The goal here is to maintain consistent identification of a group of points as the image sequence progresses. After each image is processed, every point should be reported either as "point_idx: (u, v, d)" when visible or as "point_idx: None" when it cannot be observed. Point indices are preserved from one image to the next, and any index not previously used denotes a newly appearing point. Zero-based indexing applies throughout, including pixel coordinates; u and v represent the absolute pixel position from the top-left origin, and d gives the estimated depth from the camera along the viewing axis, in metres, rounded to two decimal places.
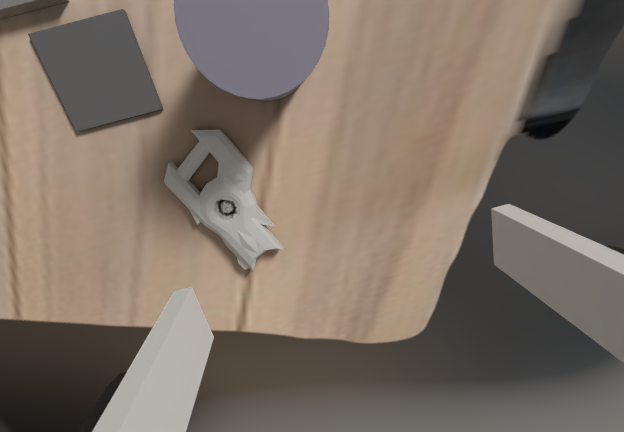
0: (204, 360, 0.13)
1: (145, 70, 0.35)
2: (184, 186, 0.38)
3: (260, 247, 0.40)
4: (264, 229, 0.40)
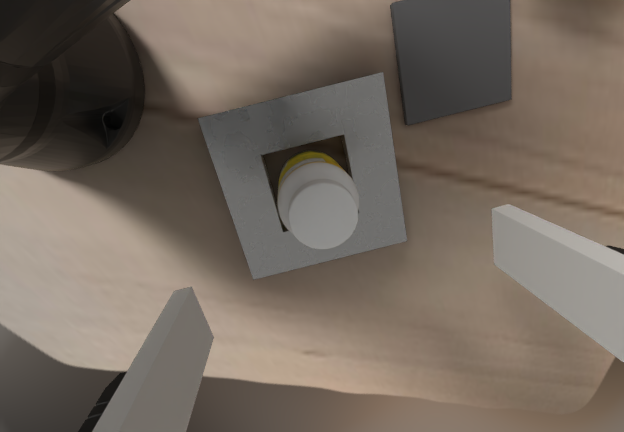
0: (204, 360, 0.13)
1: None
2: None
3: None
4: None
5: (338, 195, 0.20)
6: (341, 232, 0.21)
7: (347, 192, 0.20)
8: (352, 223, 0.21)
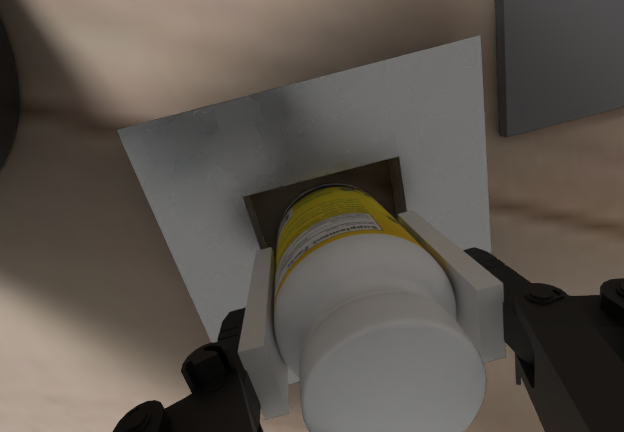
0: None
1: None
2: None
3: None
4: None
5: (441, 351, 0.07)
6: (439, 430, 0.08)
7: (465, 341, 0.07)
8: (469, 409, 0.08)
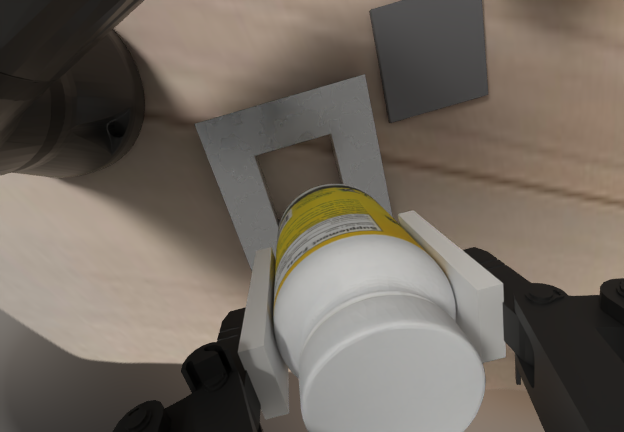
0: None
1: None
2: None
3: None
4: None
5: (440, 351, 0.07)
6: (438, 430, 0.08)
7: (464, 342, 0.07)
8: (468, 410, 0.08)
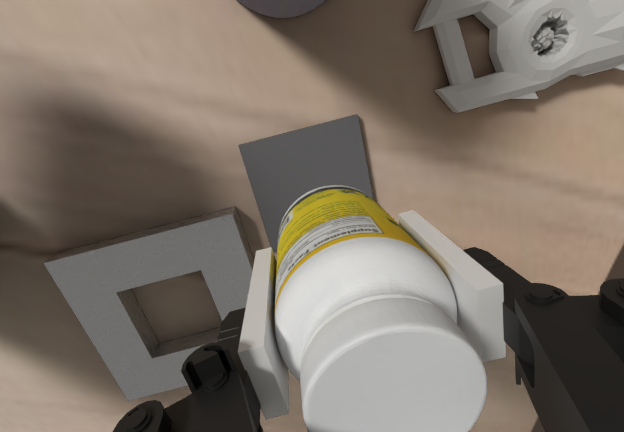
0: None
1: (308, 128, 0.26)
2: (483, 83, 0.25)
3: None
4: None
5: (442, 356, 0.07)
6: None
7: (466, 346, 0.07)
8: (470, 413, 0.08)
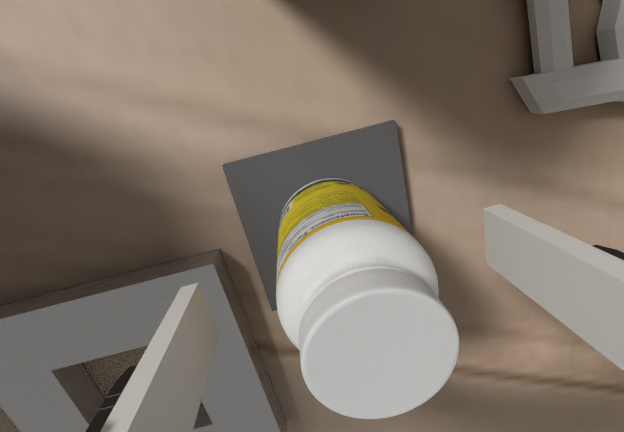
0: (211, 355, 0.13)
1: (324, 141, 0.18)
2: (588, 73, 0.17)
3: None
4: None
5: (419, 315, 0.09)
6: (419, 386, 0.10)
7: (440, 307, 0.09)
8: (445, 368, 0.09)
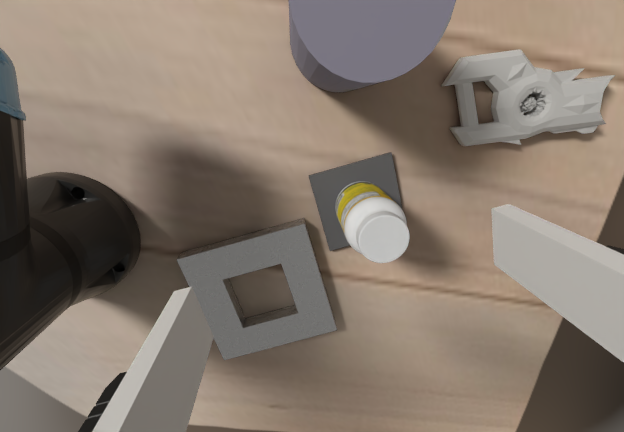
0: (204, 360, 0.13)
1: (357, 163, 0.37)
2: (483, 128, 0.35)
3: (597, 95, 0.34)
4: (580, 79, 0.34)
5: (395, 224, 0.28)
6: (397, 250, 0.29)
7: (402, 221, 0.28)
8: (405, 243, 0.29)
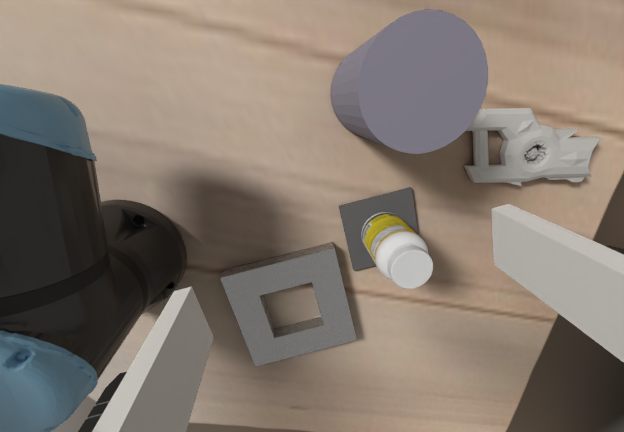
0: (204, 360, 0.13)
1: (382, 196, 0.43)
2: (493, 170, 0.41)
3: (587, 152, 0.41)
4: (575, 138, 0.41)
5: (422, 257, 0.33)
6: (422, 278, 0.34)
7: (427, 255, 0.33)
8: (429, 273, 0.34)
